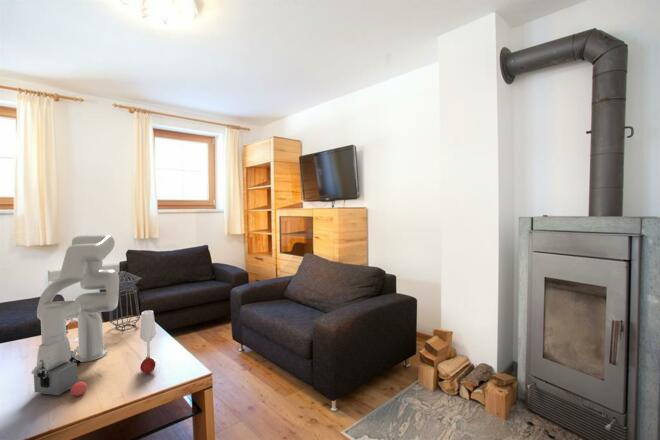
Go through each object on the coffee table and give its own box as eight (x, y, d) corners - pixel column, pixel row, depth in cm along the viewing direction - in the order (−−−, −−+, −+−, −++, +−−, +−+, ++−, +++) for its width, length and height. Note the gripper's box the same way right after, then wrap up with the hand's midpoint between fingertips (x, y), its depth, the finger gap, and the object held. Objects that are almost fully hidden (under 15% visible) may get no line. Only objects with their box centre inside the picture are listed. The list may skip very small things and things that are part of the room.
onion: (144, 370, 143) (144, 353, 142) (158, 370, 143) (157, 353, 143) (138, 377, 137) (137, 359, 137) (151, 377, 138) (151, 359, 137)
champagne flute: (149, 365, 147) (148, 315, 146) (137, 364, 149) (135, 314, 148) (160, 358, 154) (158, 310, 153) (148, 357, 155) (146, 309, 154)
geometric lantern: (118, 334, 184) (114, 274, 182) (105, 329, 192) (101, 272, 190) (145, 325, 197) (142, 269, 196) (132, 321, 205) (129, 267, 204)
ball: (77, 387, 121) (76, 400, 122) (90, 380, 126) (89, 392, 127) (67, 384, 123) (66, 396, 123) (80, 377, 128) (80, 389, 128)
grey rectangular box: (34, 392, 124) (33, 370, 124) (54, 381, 132) (53, 360, 131) (58, 395, 122) (57, 372, 122) (77, 384, 130) (76, 363, 129)
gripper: (67, 329, 135) (69, 369, 136) (21, 346, 118) (24, 392, 119) (82, 330, 134) (84, 370, 135) (38, 348, 117) (40, 394, 118)
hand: (56, 380), depth 127 cm, fingers closed on grey rectangular box, 7 cm apart
